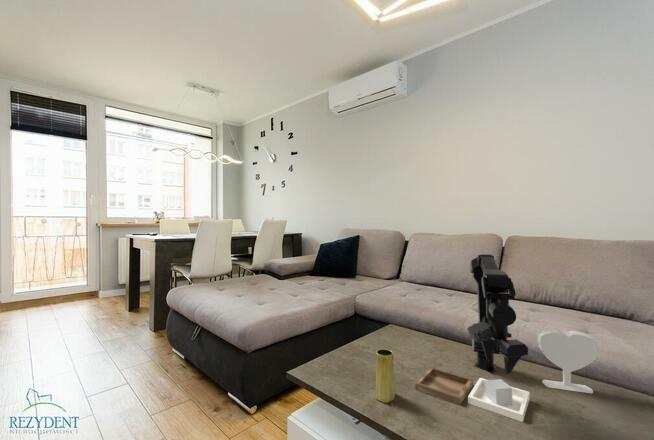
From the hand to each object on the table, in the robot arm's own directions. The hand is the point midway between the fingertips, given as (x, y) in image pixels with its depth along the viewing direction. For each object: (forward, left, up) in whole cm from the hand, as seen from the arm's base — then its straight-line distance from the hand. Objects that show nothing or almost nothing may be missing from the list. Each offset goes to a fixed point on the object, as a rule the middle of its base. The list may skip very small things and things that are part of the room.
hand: (497, 366), depth 93 cm
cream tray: (0, 0, -11) cm, 11 cm away
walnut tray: (+3, -15, -11) cm, 19 cm away
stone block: (0, 0, -10) cm, 10 cm away
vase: (+19, -28, -11) cm, 36 cm away
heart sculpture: (-23, +16, -11) cm, 30 cm away
